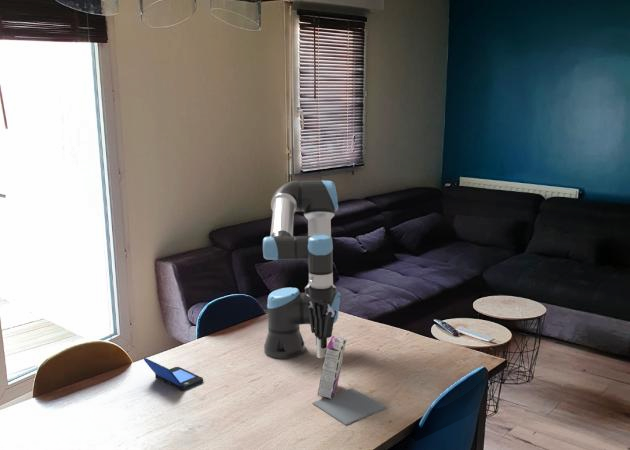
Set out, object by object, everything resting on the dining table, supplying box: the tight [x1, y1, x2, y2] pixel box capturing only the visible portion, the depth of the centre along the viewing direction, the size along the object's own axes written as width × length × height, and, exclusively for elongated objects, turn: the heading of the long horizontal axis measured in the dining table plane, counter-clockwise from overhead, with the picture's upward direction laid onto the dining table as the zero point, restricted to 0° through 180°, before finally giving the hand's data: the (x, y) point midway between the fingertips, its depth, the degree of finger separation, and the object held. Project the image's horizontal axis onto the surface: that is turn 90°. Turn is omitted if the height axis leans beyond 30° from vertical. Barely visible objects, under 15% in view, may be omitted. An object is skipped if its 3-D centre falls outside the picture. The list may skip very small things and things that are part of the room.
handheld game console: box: [143, 357, 204, 392], centre depth 203 cm, size 16×13×9 cm
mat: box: [312, 387, 387, 426], centre depth 186 cm, size 16×16×1 cm
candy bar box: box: [317, 335, 347, 399], centre depth 193 cm, size 11×5×16 cm, turn 168°
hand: (321, 356), depth 194 cm, fingers closed
